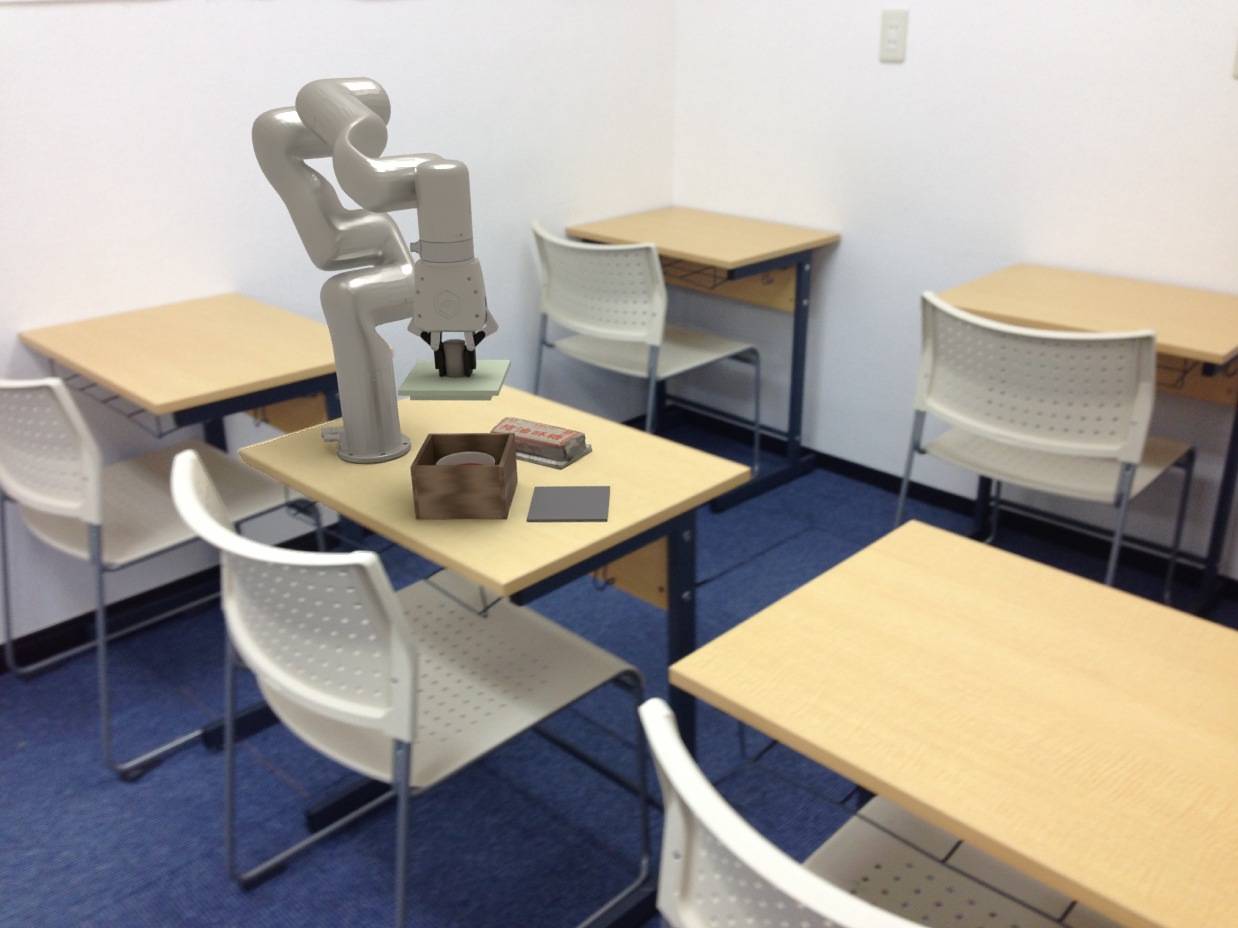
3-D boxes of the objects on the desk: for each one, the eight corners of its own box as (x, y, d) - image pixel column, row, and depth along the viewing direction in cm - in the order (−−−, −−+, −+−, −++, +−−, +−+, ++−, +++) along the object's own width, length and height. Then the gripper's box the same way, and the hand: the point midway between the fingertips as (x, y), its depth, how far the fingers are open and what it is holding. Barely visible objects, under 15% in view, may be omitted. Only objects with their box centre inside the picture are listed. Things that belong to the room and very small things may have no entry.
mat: (526, 521, 155) (526, 519, 155) (535, 488, 166) (534, 486, 166) (607, 521, 155) (607, 518, 155) (610, 488, 166) (610, 485, 166)
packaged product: (593, 427, 179) (560, 445, 171) (594, 453, 181) (561, 472, 173) (510, 409, 188) (475, 426, 180) (512, 434, 190) (477, 452, 182)
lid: (398, 403, 150) (394, 356, 147) (419, 372, 163) (415, 328, 160) (498, 403, 149) (496, 357, 146) (511, 372, 162) (508, 328, 160)
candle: (467, 517, 157) (464, 479, 155) (427, 502, 162) (423, 465, 160) (509, 497, 163) (506, 460, 161) (469, 483, 169) (466, 447, 166)
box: (415, 519, 157) (410, 467, 153) (433, 482, 169) (428, 433, 166) (506, 518, 156) (503, 466, 153) (517, 481, 169) (514, 432, 166)
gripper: (383, 256, 145) (396, 382, 152) (501, 256, 144) (508, 382, 151) (395, 245, 151) (407, 365, 159) (508, 245, 151) (514, 366, 158)
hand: (456, 372), depth 155 cm, fingers closed on lid, 3 cm apart
